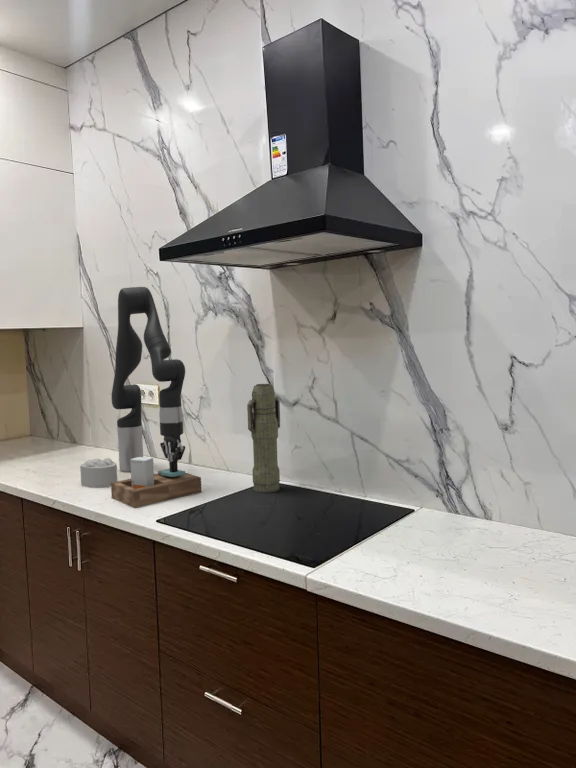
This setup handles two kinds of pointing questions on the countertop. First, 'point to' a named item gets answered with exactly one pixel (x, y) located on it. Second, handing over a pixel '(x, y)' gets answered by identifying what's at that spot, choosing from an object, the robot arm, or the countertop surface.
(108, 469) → the lumpy-topped squat cylinder
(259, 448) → the thermos
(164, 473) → the teal card holder
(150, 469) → the skincare box
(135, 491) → the socket block
